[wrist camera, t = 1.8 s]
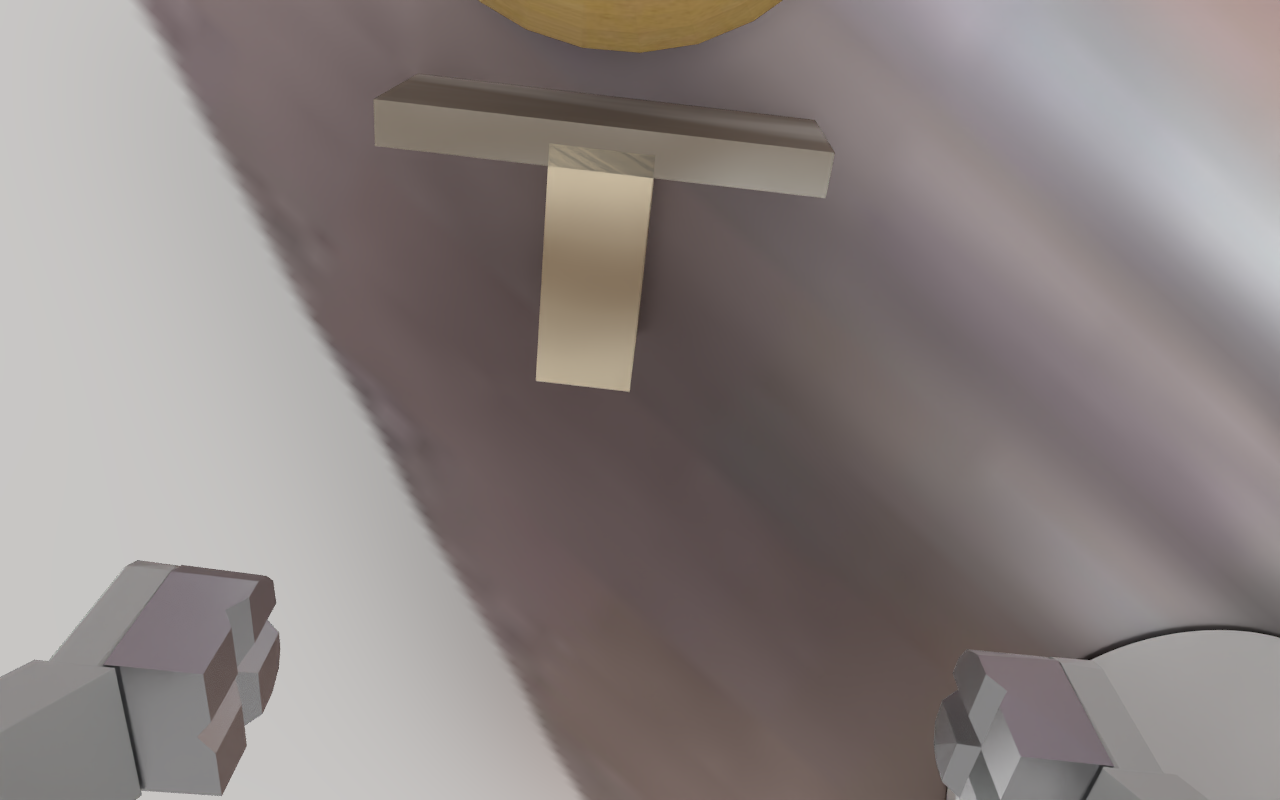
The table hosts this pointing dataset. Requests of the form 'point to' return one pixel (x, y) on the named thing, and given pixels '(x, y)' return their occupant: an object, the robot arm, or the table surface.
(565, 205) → the scraper
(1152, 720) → the robot arm
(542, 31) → the pot
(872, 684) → the table surface
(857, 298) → the table surface
